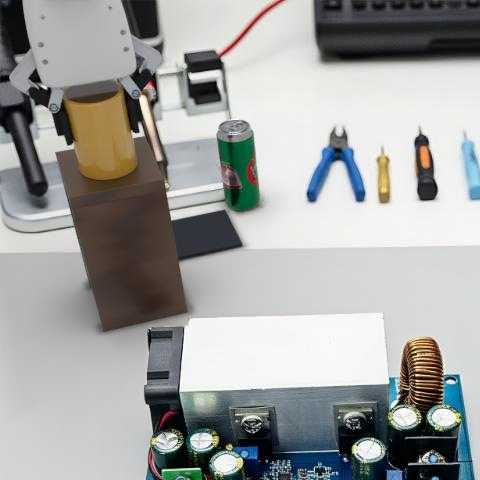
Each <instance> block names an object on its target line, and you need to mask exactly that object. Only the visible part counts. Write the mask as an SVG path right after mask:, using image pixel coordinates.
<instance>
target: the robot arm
mask: <svg viewBox="0 0 480 480" xmlns="http://www.w3.org/2000/svg"><path fill="white" fill-rule="evenodd" d="M22 9H23V10H22V11H23V15H24V16H23V17H24V21H25V28H26V31H27V38H28V42H29V46H30V48H29V50H28V51H27V52H26V53H25V55H24V56H23V58H22V59H21V60H20V61H19V63H18V64H17V65H16V66H15V68H14V69H13V70H12V71H11V73H10V74H9V81H10V84H11V86H12V87H14V88H16V89H17V90H18V91H20V92H21V93H23V94H25V95H26V96H28V97H29V98H30V99H31V100H32V101H35V102H36V103H38V104H40V105H41V106H43V107H45V108H46V109H48V111H49V112H50V113H51V117H52V120H53V124H54V128H55V132H56V135H57V137H62V136H63V137H64V140H65V143H66V146H67V147H68V146H73V139H72V135H71V131H70V126H69V122H68V118H67V114H66V111H65V108H64V106H63V102H62V98H63V94H64V90H65V87H72V86H78V85H85V84H91V83H97V82H103V81H109V80H117V81H118V82H119V83H121V84H122V86H123V88H124V93H125V98H126V103H127V108H128V113H129V119H130V124H131V129H132V134H133V133H134V134H140V132H141V131H140V125H139V123H140V122H144V117H143V111H142V106H141V102H140V98H141V97H142V92H143V91H144V89H145V88H146V87H147V85H148V84H149V83H150V82H151V80H152V78H153V75H154V73H156V71H157V70H158V69H159V67H160V66H161V64H162V62H163V57H162V54H161V52H160V51H159V50H158V49H156V48H154V47H153V46H151V45H149V44H148V43H146V42H144V41H143V40H141V39H139V38H138V37H137V36H135V35H134V34H132V33H131V31H130V27H129V23H128V18H127V15H126V12H125V9H124V5H123V2H122V0H22ZM136 55H138V56H139V57H141V58H143V61H142V64H140V65H139V66H138V67H137V57H136ZM35 70H36V71H37V74H38V76H39V78H40V81H41V83H42V85H44V87H46V88H44V87H43V86H41V85H39V84H38V83H36V82H33V81H32V80H31V79H29V78H30V77H31V76H32V74H33V73H34V72H35Z"/></svg>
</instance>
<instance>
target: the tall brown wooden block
mask: <svg viewBox="0 0 480 480" xmlns="http://www.w3.org/2000/svg"><path fill="white" fill-rule="evenodd" d="M133 139H134V144H135V149H136V154H137V159H138V164H137V167H136V168H135V169H134V170H133V171H132V172H131V173H129V174H127V175H125V176H123V177H120V178H116V179H111V180H95V179H91V178H88V177H85V176H84V175H82V174H81V172H80V171H79V167H78V163H77V159H76V155H75V151H74V148H70V149H65V150H60V151H55V152H54V153H55V158H56V161H57V165H58V171H59V173H60V177H61V181H62V185H63V189H64V192H65V196H66V201H67V205H68V209H69V212H70V216H71V220H72V223H73V227H74V231H75V235H76V239H77V243H78V247H79V250H80V254H81V259H82V262H83V266H84V270H85V274H86V277H87V282H88V285H89V288H91V290H92V295H93V298H94V302H95V305H96V311H97V313H98V317H99V322H100V325H101V329H102V332H107V331H111V330H115V329H120V328H124V327H128V326H133V325H137V324H141V323H145V322H150V321H153V320H154V321H155V320H158V319H162V318H168V317H171V316H176V315H179V314H180V315H181V314H184V313H188V305H187V300H186V294H185V290H184V283H183V278H182V277H183V276H182V272H181V271H182V270H181V267H180V262H179V261H180V260H178V255H177V249H176V243H175V238H174V232H173V226H172V216H171V210H170V205H169V200H168V199H169V198H168V193H167V188H166V182H165V178H164V176H163V174H162V171H161V169H160V167H159V165H158V163H157V160H156V158H155V156H154V153H153V151H152V148H151V147H150V143H149V142H148V140H147V138H146V136H145V135H143V136H137V137H133Z"/></svg>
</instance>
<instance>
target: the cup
mask: <svg viewBox="0 0 480 480" xmlns="http://www.w3.org/2000/svg"><path fill="white" fill-rule="evenodd" d="M62 102H63V106H64V108H65V111H66V114H67V118H68V122H69V126H70V131H71V135H72V139H73V144H72V147H73V149H74V151H75V155H76V159H77V163H78V167H79V171H80V172H81V174H82V175H84V176H85V177H88V178H91V179H95V180H111V179H116V178H120V177H123V176H125V175H127V174H129V173H131V172H132V171H133V170H134V169H135V168H136V167H137V164H138V159H137V154H136V149H135V144H134V139H133V138H134V134H133V131H132V129H131V124H130V119H129V113H128V108H127V103H126V98H125V93H124V87H123V85H122V84H121V83H120V81H119V80H116V79H114V80H109V81H103V82H97V83H91V84H85V85H78V86H72V87H65V90H64V94H63V98H62Z"/></svg>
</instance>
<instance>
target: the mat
mask: <svg viewBox="0 0 480 480" xmlns="http://www.w3.org/2000/svg"><path fill="white" fill-rule="evenodd" d="M171 221H172V226H173V232H174V238H175V243H176V249H177V255H178V260H179V261H181V260H186V259H192V258H195V257H199V256H200V257H201V256H205V255H209V254H214V253H218V252H223V251H227V250H233V249H237V248H240V247H243V242H242V240H241V238H240V236H239V234H238V232H237V230H236V228H235V227H234V224H233V222H232V221H231V218H230V217H229V214H228V213H227V211H226V209H220V210H215V211H211V212H207V213H202V214H196V215H192V216H186V217H182V218H178V219H171Z"/></svg>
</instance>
